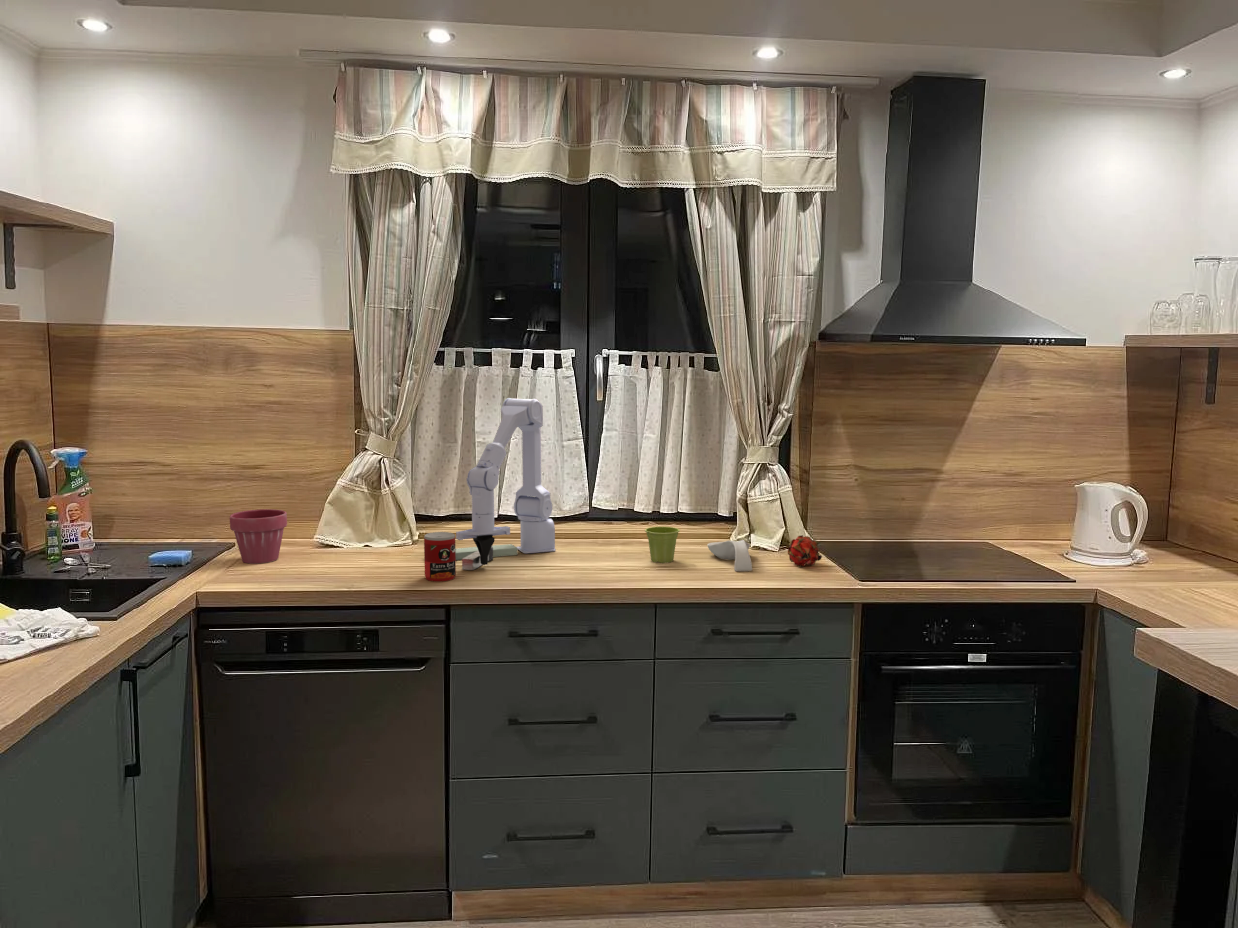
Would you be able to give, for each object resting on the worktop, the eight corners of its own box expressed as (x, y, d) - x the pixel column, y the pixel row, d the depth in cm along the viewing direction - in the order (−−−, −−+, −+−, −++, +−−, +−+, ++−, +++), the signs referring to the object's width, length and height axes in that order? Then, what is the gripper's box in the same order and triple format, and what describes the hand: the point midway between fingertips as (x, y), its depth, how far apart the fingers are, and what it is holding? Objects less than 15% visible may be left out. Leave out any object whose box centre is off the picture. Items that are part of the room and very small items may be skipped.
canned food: (429, 583, 227) (429, 539, 226) (420, 576, 234) (420, 533, 233) (460, 579, 230) (459, 536, 229) (450, 573, 237) (449, 530, 236)
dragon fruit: (804, 565, 256) (807, 581, 245) (779, 547, 256) (781, 563, 244) (823, 542, 254) (828, 558, 242) (799, 524, 253) (802, 539, 242)
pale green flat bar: (511, 550, 264) (511, 544, 264) (517, 554, 259) (517, 547, 259) (427, 558, 254) (427, 550, 254) (431, 562, 249) (431, 554, 249)
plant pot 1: (229, 567, 241) (227, 519, 240) (233, 556, 255) (231, 510, 253) (288, 564, 246) (286, 516, 244) (288, 553, 259) (287, 507, 258)
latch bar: (481, 557, 255) (481, 545, 254) (495, 558, 254) (495, 546, 253) (460, 569, 241) (460, 557, 240) (474, 570, 240) (474, 558, 239)
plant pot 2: (653, 565, 247) (653, 533, 246) (639, 558, 256) (639, 527, 255) (685, 563, 250) (685, 531, 249) (670, 556, 259) (670, 525, 258)
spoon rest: (703, 553, 264) (703, 528, 263) (743, 552, 266) (744, 527, 265) (722, 573, 241) (723, 546, 240) (766, 572, 242) (767, 545, 241)
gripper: (501, 508, 249) (502, 557, 251) (451, 513, 241) (452, 564, 243) (513, 512, 243) (514, 562, 245) (461, 517, 235) (462, 569, 237)
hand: (483, 563), depth 244 cm, fingers closed, pressing on latch bar
